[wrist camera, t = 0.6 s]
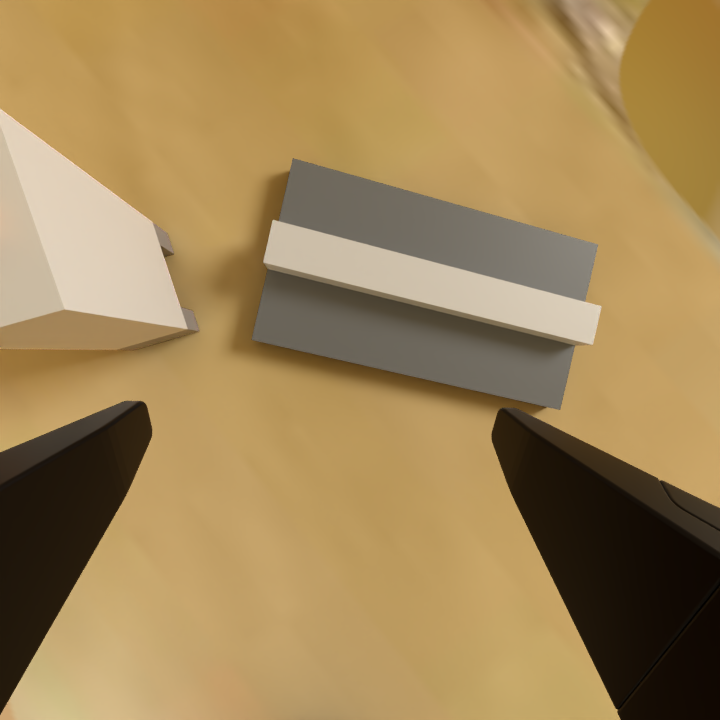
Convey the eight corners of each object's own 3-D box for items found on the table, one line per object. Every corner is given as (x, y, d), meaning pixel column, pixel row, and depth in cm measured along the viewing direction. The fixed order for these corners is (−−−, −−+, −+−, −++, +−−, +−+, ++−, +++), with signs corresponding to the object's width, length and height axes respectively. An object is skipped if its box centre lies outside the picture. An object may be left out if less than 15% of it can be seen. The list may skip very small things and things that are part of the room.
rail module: (199, 331, 21) (30, 304, 9) (134, 350, 21) (-132, 348, 9) (167, 233, 21) (-53, 69, 9) (100, 250, 21) (-225, 106, 8)
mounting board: (584, 250, 24) (617, 237, 21) (548, 406, 24) (576, 414, 21) (294, 169, 22) (290, 143, 19) (255, 340, 22) (245, 339, 19)
